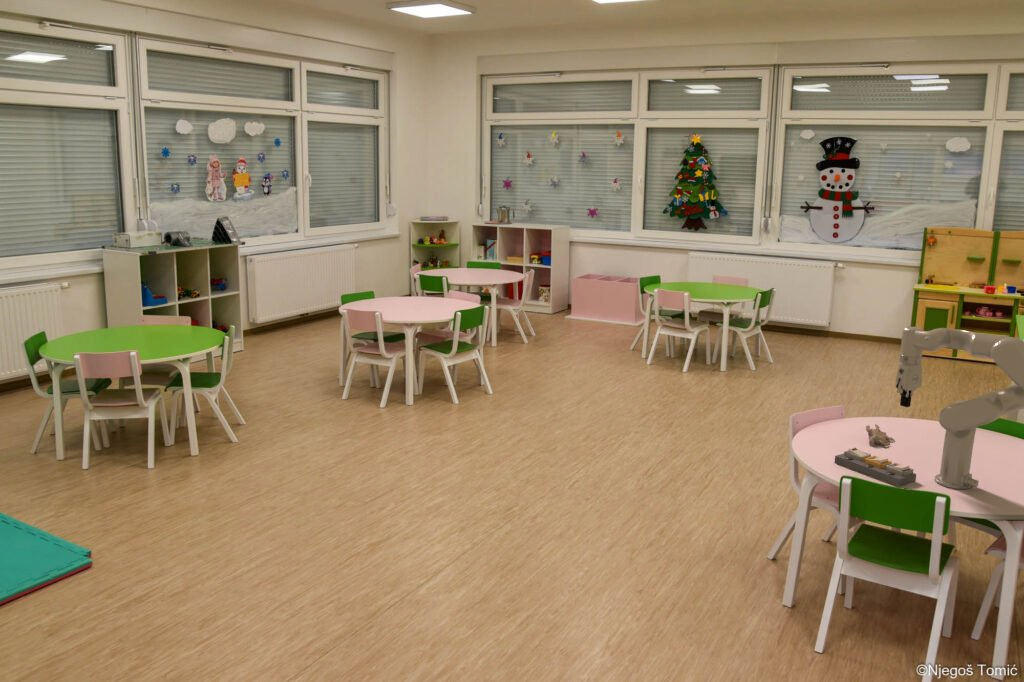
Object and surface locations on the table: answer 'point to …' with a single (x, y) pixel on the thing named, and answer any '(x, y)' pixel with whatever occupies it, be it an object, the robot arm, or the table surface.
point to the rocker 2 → (900, 467)
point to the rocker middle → (879, 459)
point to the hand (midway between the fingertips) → (905, 406)
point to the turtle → (877, 436)
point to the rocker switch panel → (876, 468)
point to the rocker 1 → (857, 452)
